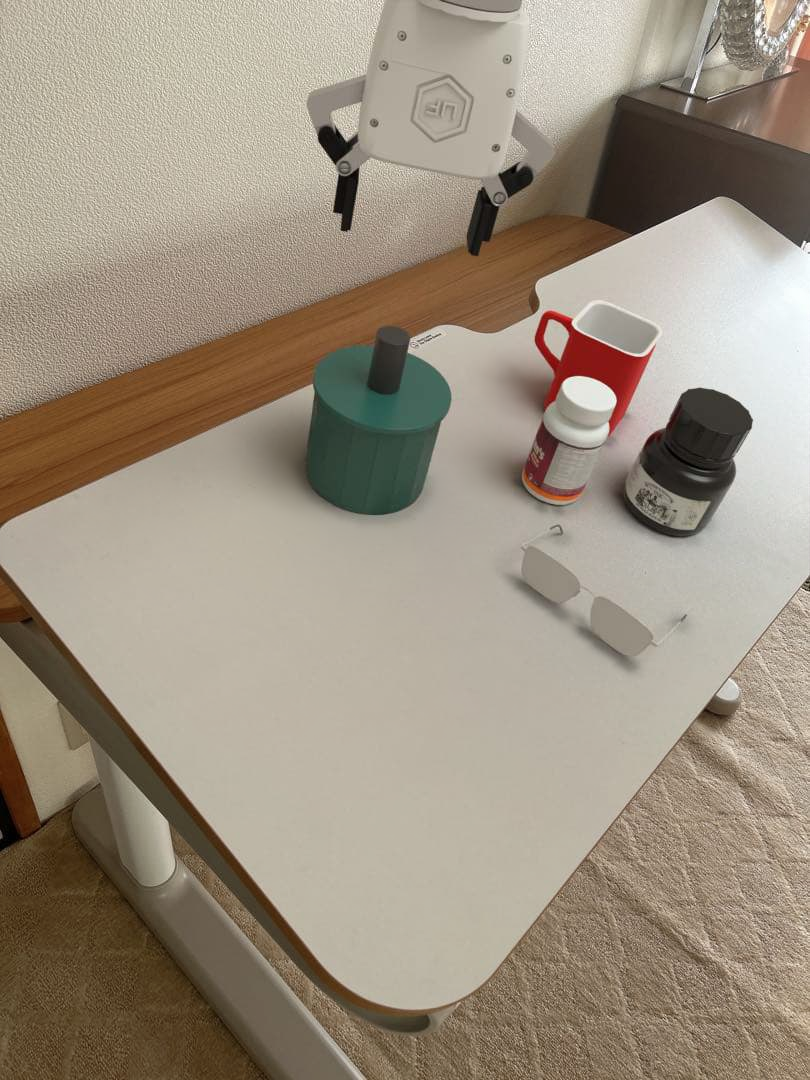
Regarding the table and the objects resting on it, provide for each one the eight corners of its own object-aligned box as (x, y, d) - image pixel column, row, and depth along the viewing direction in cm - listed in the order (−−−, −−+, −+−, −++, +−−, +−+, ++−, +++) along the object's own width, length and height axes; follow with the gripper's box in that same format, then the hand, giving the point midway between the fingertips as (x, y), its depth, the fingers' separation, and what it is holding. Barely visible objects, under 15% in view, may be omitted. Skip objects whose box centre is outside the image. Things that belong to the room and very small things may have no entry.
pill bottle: (517, 460, 88) (551, 366, 81) (576, 469, 89) (616, 377, 81) (523, 502, 84) (559, 407, 76) (585, 511, 85) (627, 418, 77)
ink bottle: (600, 492, 87) (646, 394, 79) (652, 463, 92) (700, 368, 84) (677, 554, 83) (734, 457, 75) (728, 520, 88) (786, 426, 80)
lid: (283, 392, 74) (290, 328, 70) (366, 340, 82) (377, 280, 78) (398, 460, 71) (413, 398, 67) (473, 399, 79) (491, 340, 75)
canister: (280, 471, 81) (290, 386, 74) (353, 419, 88) (368, 338, 82) (378, 533, 78) (398, 450, 71) (445, 474, 85) (469, 394, 78)
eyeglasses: (508, 570, 77) (523, 537, 75) (556, 535, 83) (572, 503, 80) (642, 670, 72) (662, 638, 69) (684, 626, 77) (704, 594, 75)
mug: (630, 410, 99) (667, 328, 91) (605, 445, 93) (642, 361, 86) (535, 365, 102) (563, 282, 94) (505, 396, 96) (533, 310, 89)
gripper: (322, -44, 50) (289, 237, 62) (609, 23, 53) (525, 281, 65) (329, -72, 56) (297, 192, 67) (589, -10, 58) (515, 234, 70)
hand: (409, 235), depth 66 cm, fingers open, 9 cm apart
